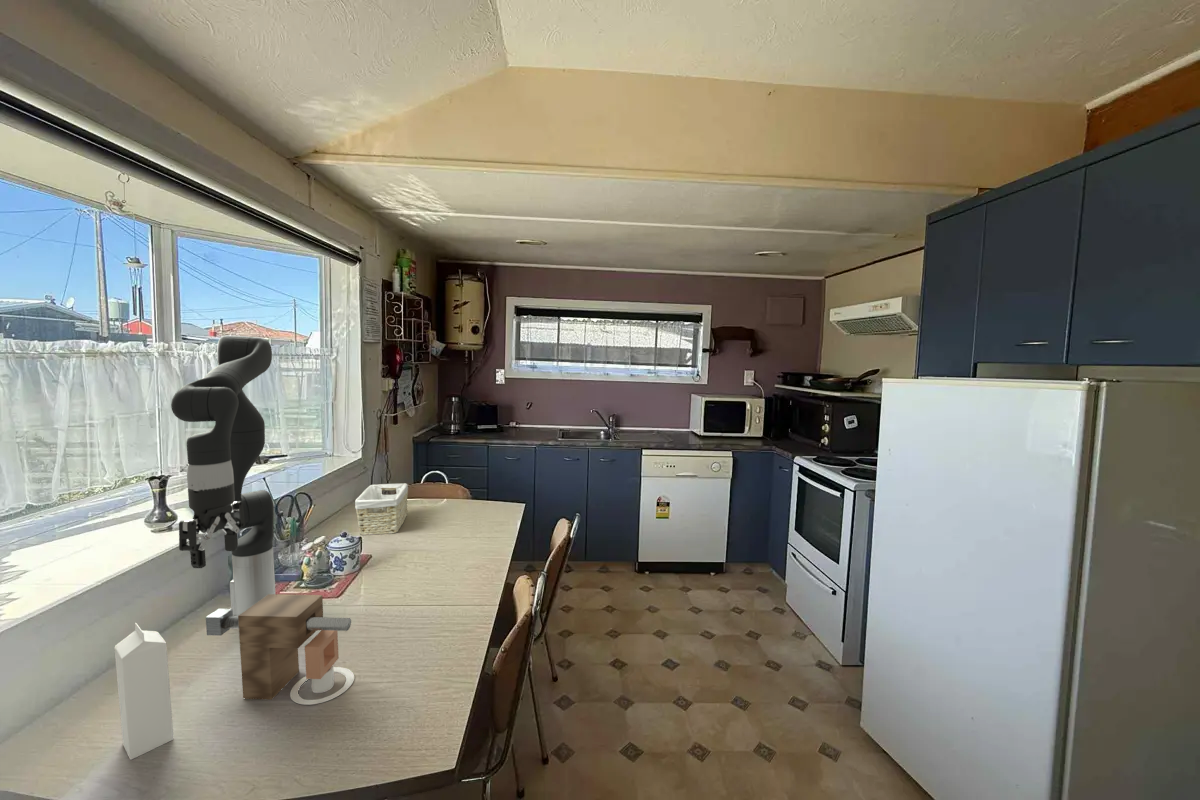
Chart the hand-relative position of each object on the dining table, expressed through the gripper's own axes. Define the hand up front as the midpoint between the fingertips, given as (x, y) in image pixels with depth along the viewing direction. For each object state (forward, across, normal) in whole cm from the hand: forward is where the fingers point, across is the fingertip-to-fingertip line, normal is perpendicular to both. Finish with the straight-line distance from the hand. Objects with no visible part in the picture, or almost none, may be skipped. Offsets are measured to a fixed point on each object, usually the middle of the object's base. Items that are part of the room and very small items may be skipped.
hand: (215, 558), depth 104 cm
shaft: (+16, 0, +13) cm, 21 cm away
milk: (+28, +16, -1) cm, 32 cm away
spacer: (+24, 0, +22) cm, 32 cm away
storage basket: (+28, -98, -10) cm, 103 cm away
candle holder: (+29, 0, +22) cm, 36 cm away
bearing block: (+28, 0, +14) cm, 31 cm away
